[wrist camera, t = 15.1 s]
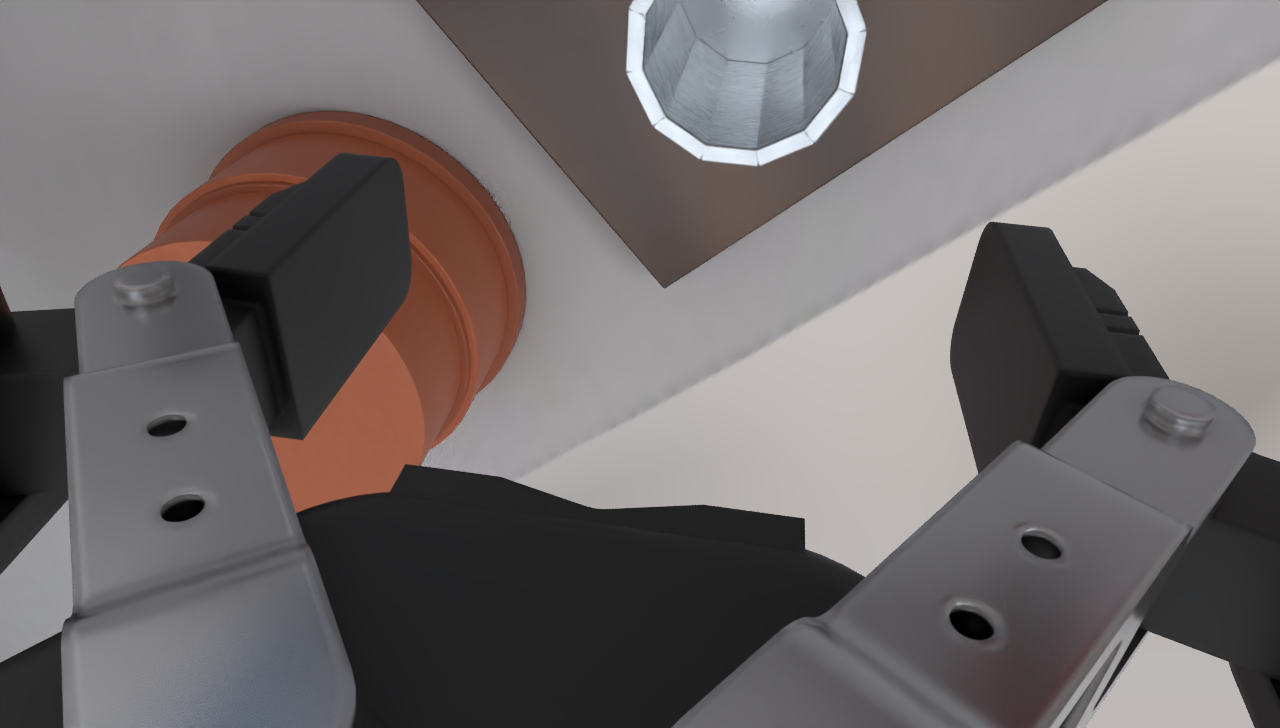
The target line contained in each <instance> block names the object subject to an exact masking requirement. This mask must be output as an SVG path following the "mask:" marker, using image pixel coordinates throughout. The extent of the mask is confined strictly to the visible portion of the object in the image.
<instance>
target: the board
mask: <svg viewBox="0 0 1280 728" xmlns="http://www.w3.org/2000/svg"><path fill="white" fill-rule="evenodd" d="M631 1H632V0H417V2H418V3H419V4H420V5H421V6H422V7H423V9H424V10H425V11H426V12H427V13H428V14H429V16H430V17H431V18H432V19H433V20H434V21H435V23H436V24H437V25H438V26H439V27H440V28H441V30H442V31H443V32H444V33H445V34H446V35H447V37H448V38H449V39H450V40H451V41H452V42H453V44H454V45H455V46H456V47H457V48H458V49H459V51H460V52H461V53H462V54H463V55H464V56H465V58H466V59H467V60H468V61H469V62H470V63H471V65H472V66H473V67H474V68H475V69H476V70H477V71H478V73H479V74H480V75H481V76H482V77H483V78H484V80H485V81H486V82H487V83H488V84H489V85H490V87H491V88H492V89H493V90H494V91H495V92H496V94H497V95H498V96H499V97H500V98H501V99H502V101H503V102H504V103H505V104H506V105H507V106H508V108H509V109H510V110H511V111H512V112H513V113H514V115H515V116H516V117H517V118H518V119H519V120H520V122H521V123H522V124H523V125H524V126H525V127H526V129H527V130H528V131H529V132H530V133H531V134H532V136H533V137H534V138H535V139H536V140H537V141H538V143H539V144H540V145H541V146H542V147H543V148H544V150H545V151H546V152H547V153H548V154H549V155H550V156H551V158H552V159H553V160H554V161H555V162H556V163H557V165H558V166H559V167H560V168H561V169H562V170H563V172H564V173H565V174H566V175H567V176H568V177H569V179H570V180H571V181H572V182H573V183H574V184H575V186H576V187H577V188H578V189H579V190H580V191H581V193H582V194H583V195H584V196H585V197H586V198H587V200H588V201H589V202H590V203H591V204H592V205H593V207H594V208H595V209H596V210H597V211H598V212H599V214H600V215H601V216H602V217H603V218H604V219H605V221H606V222H607V223H608V224H609V225H610V226H611V228H612V229H613V230H614V231H615V232H616V233H617V235H618V236H619V237H620V238H621V239H622V240H623V242H624V243H625V244H626V245H627V246H628V247H629V248H630V250H631V251H632V252H633V253H634V254H635V255H636V257H637V258H638V259H639V260H640V261H641V262H642V264H643V265H644V266H645V267H646V268H647V269H648V271H649V272H650V273H651V274H652V275H653V276H654V278H655V279H656V280H657V281H658V282H659V283H660V285H661V286H662V287H663V288H666V287H668V286H669V285H671V284H673V283H674V282H676V281H677V280H679V279H680V278H682V277H683V276H685V275H686V274H688V273H689V272H691V271H693V270H694V269H696V268H697V267H699V266H700V265H702V264H703V263H705V262H706V261H708V260H709V259H711V258H712V257H714V256H716V255H717V254H719V253H720V252H722V251H723V250H725V249H726V248H728V247H729V246H731V245H732V244H734V243H736V242H737V241H739V240H740V239H742V238H743V237H745V236H746V235H748V234H749V233H751V232H752V231H754V230H756V229H757V228H759V227H760V226H762V225H763V224H765V223H766V222H768V221H769V220H771V219H772V218H774V217H775V216H777V215H779V214H780V213H782V212H783V211H785V210H786V209H788V208H789V207H791V206H792V205H794V204H795V203H797V202H799V201H800V200H802V199H803V198H805V197H806V196H808V195H809V194H811V193H812V192H814V191H815V190H817V189H818V188H820V187H822V186H823V185H825V184H826V183H828V182H829V181H831V180H832V179H834V178H835V177H837V176H838V175H840V174H842V173H843V172H845V171H846V170H848V169H849V168H851V167H852V166H854V165H855V164H857V163H858V162H860V161H862V160H863V159H865V158H866V157H868V156H869V155H871V154H872V153H874V152H875V151H877V150H878V149H880V148H881V147H883V146H885V145H886V144H888V143H889V142H891V141H892V140H894V139H895V138H897V137H898V136H900V135H901V134H903V133H905V132H906V131H908V130H909V129H911V128H912V127H914V126H915V125H917V124H918V123H920V122H921V121H923V120H925V119H926V118H928V117H929V116H931V115H932V114H934V113H935V112H937V111H938V110H940V109H941V108H943V107H944V106H946V105H948V104H949V103H951V102H952V101H954V100H955V99H957V98H958V97H960V96H961V95H963V94H964V93H966V92H968V91H969V90H971V89H972V88H974V87H975V86H977V85H978V84H980V83H981V82H983V81H984V80H986V79H987V78H989V77H991V76H992V75H994V74H995V73H997V72H998V71H1000V70H1001V69H1003V68H1004V67H1006V66H1007V65H1009V64H1011V63H1012V62H1014V61H1015V60H1017V59H1018V58H1020V57H1021V56H1023V55H1024V54H1026V53H1027V52H1029V51H1031V50H1032V49H1034V48H1035V47H1037V46H1038V45H1040V44H1041V43H1043V42H1044V41H1046V40H1047V39H1049V38H1050V37H1052V36H1054V35H1055V34H1057V33H1058V32H1060V31H1061V30H1063V29H1064V28H1066V27H1067V26H1069V25H1070V24H1072V23H1074V22H1075V21H1077V20H1078V19H1080V18H1081V17H1083V16H1084V15H1086V14H1087V13H1089V12H1090V11H1092V10H1093V9H1095V8H1097V7H1098V6H1100V5H1101V4H1103V3H1104V2H1106V1H1107V0H860V1H861V5H862V9H863V13H864V17H865V21H866V25H867V37H866V43H865V48H864V53H863V58H862V64H861V69H860V74H859V79H858V85H857V90H856V93H855V94H854V97H853V99H852V100H851V101H850V102H849V103H848V105H847V106H846V107H845V108H844V109H843V111H842V112H841V113H840V114H839V116H838V117H837V118H836V119H835V120H834V122H833V123H832V124H831V125H830V126H829V128H828V129H827V130H826V131H825V133H824V134H823V135H822V136H821V137H820V139H819V140H818V141H817V142H816V143H814V144H813V145H811V146H809V147H807V148H804V149H802V150H799V151H797V152H794V153H792V154H790V155H787V156H785V157H782V158H780V159H777V160H775V161H773V162H770V163H768V164H765V165H763V166H758V167H753V166H744V165H735V164H725V163H716V162H706V161H701V160H698V159H697V158H695V157H694V156H693V155H691V154H690V153H688V152H687V151H685V150H684V149H683V148H681V147H680V146H678V145H677V144H675V143H674V142H672V141H671V140H670V139H668V138H667V137H665V136H664V135H662V134H661V133H660V132H658V131H657V130H655V129H654V128H653V126H651V124H650V122H649V120H648V118H647V116H646V114H645V112H644V110H643V108H642V106H641V104H640V102H639V100H638V98H637V96H636V94H635V92H634V90H633V88H632V86H631V84H630V82H629V80H628V78H627V76H626V71H625V53H626V30H627V10H628V6H629V4H630V3H631Z"/></svg>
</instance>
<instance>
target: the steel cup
mask: <svg viewBox="0 0 1280 728" xmlns="http://www.w3.org/2000/svg"><path fill="white" fill-rule="evenodd" d="M866 37H867V25H866V21H865V17H864V13H863V9H862V5H861V1H860V0H632V1H631V3H630V4H629V6H628V10H627V30H626V53H625V71H626V76H627V78H628V80H629V82H630V84H631V86H632V88H633V90H634V92H635V94H636V96H637V98H638V100H639V102H640V104H641V106H642V108H643V110H644V112H645V114H646V116H647V118H648V120H649V122H650V124H651V126H653V128H654V129H655V130H657V131H658V132H660V133H661V134H662V135H664V136H665V137H667V138H668V139H670V140H671V141H672V142H674V143H675V144H677V145H678V146H680V147H681V148H683V149H684V150H685V151H687V152H688V153H690V154H691V155H693V156H694V157H695V158H697V159H698V160H701V161H706V162H716V163H725V164H735V165H744V166H753V167H758V166H763V165H765V164H768V163H770V162H773V161H775V160H777V159H780V158H782V157H785V156H787V155H790V154H792V153H794V152H797V151H799V150H802V149H804V148H807V147H809V146H811V145H813V144H814V143H816V142H817V141H818V140H819V139H820V137H821V136H822V135H823V134H824V133H825V131H826V130H827V129H828V128H829V126H830V125H831V124H832V123H833V122H834V120H835V119H836V118H837V117H838V116H839V114H840V113H841V112H842V111H843V109H844V108H845V107H846V106H847V105H848V103H849V102H850V101H851V100H852V99H853V97H854V94H855V93H856V90H857V85H858V79H859V74H860V69H861V64H862V58H863V53H864V48H865V43H866Z"/></svg>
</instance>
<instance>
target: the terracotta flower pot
mask: <svg viewBox="0 0 1280 728" xmlns="http://www.w3.org/2000/svg"><path fill="white" fill-rule="evenodd" d="M342 152H344V153H353V154H363V155H372V156H382V157H391V158H394V159H396V160H397V162H398V163H399V165H400V167H401V170H402V175H403V181H404V191H405V200H406V210H407V219H408V229H409V238H410V248H411V257H412V275H411V282H410V287H409V291H408V294H407V297H406V299H405V301H404V303H403V304H402V305H401V307H400V308H399V310H398V311H397V312H396V314H395V315H394V316H393V318H392V319H391V321H390V322H389V323H388V325H387V326H386V327H385V329H384V330H383V331H382V333H381V334H380V336H379V337H378V338H377V340H376V341H375V342H374V344H373V345H372V347H371V348H370V349H369V351H368V352H367V353H366V355H365V356H364V357H363V359H362V360H361V362H360V363H359V364H358V366H357V367H356V368H355V370H354V371H353V373H352V374H351V375H350V377H349V378H348V379H347V381H346V382H345V384H344V385H343V386H342V388H341V389H340V390H339V392H338V393H337V394H336V396H335V397H334V399H333V400H332V401H331V403H330V404H329V405H328V407H327V408H326V410H325V411H324V412H323V414H322V415H321V416H320V418H319V419H318V420H317V422H316V423H315V425H314V426H313V427H312V429H311V430H310V431H309V433H308V434H307V436H306V437H305V438H304V440H296V439H289V438H281V437H274V436H271V439H272V442H273V445H274V448H275V451H276V454H277V457H278V460H279V463H280V466H281V469H282V472H283V475H284V478H285V481H286V484H287V487H288V491H289V494H290V497H291V500H292V503H293V506H294V509H295V512H296V513H297V512H300V511H302V510H305V509H307V508H310V507H313V506H317V505H320V504H323V503H326V502H330V501H333V500H338V499H343V498H347V497H352V496H357V495H364V494H371V493H379V492H390V491H391V489H392V487H393V485H394V484H395V482H396V480H397V478H398V476H399V475H400V473H401V471H402V469H403V467H404V466H405V464H409V465H416V466H421V464H422V462H423V460H424V459H425V457H426V455H427V453H428V451H429V450H430V449H431V448H433V447H435V446H436V445H438V444H439V443H441V442H442V441H443V440H444V439H445V438H446V437H448V436H449V435H450V434H451V433H452V432H453V431H454V429H455V428H456V427H457V426H458V425H459V423H460V422H461V421H462V419H463V417H464V416H465V414H466V412H467V411H468V409H469V407H470V405H471V403H472V401H473V399H474V397H475V396H476V394H477V393H478V392H479V391H481V390H482V389H483V388H484V387H485V386H486V385H487V384H489V383H490V382H491V381H492V379H493V378H494V377H495V376H496V375H497V373H498V372H499V371H500V370H501V368H502V366H503V365H504V363H505V361H506V360H507V358H508V356H509V354H510V352H511V350H512V348H513V346H514V344H515V342H516V340H517V337H518V335H519V332H520V329H521V327H522V322H523V317H524V312H525V300H526V286H525V276H524V269H523V265H522V261H521V257H520V252H519V250H518V247H517V244H516V242H515V239H514V236H513V234H512V231H511V229H510V228H509V226H508V224H507V222H506V220H505V218H504V216H503V214H502V212H501V211H500V209H499V208H498V207H497V205H496V204H495V202H494V201H493V199H492V198H491V196H490V195H489V194H488V192H487V191H486V190H485V189H484V188H483V187H482V185H481V184H480V183H479V182H478V181H477V180H476V179H475V177H474V176H473V175H472V174H471V173H470V172H469V171H467V170H466V169H465V168H464V167H463V166H462V165H461V164H460V163H459V162H458V161H457V160H455V159H454V158H453V157H452V156H450V155H449V154H447V153H446V152H445V151H443V150H442V149H441V148H439V147H438V146H437V145H435V144H434V143H432V142H430V141H428V140H427V139H425V138H423V137H421V136H420V135H418V134H416V133H414V132H412V131H410V130H408V129H405V128H403V127H401V126H398V125H396V124H394V123H392V122H388V121H385V120H382V119H378V118H375V117H372V116H368V115H362V114H356V113H350V112H339V111H318V112H309V113H301V114H297V115H293V116H289V117H286V118H282V119H280V120H278V121H275V122H273V123H271V124H269V125H266V126H264V127H263V128H261V129H260V130H258V131H257V132H255V133H254V134H252V135H251V136H249V137H248V138H246V139H245V140H243V141H242V142H240V143H239V144H237V145H236V146H235V147H234V148H233V149H232V150H231V151H230V152H229V153H228V154H227V155H225V156H224V157H223V158H222V160H221V161H220V163H219V164H218V165H217V167H216V168H215V170H214V171H213V172H212V174H211V176H210V179H209V180H208V181H207V182H205V183H204V184H203V185H201V186H200V187H198V188H197V189H195V190H194V191H192V192H191V193H189V194H188V195H187V196H185V197H184V198H183V199H182V200H181V201H180V202H179V203H178V204H177V205H176V206H175V207H173V208H172V209H171V211H170V212H169V213H168V215H167V216H166V218H165V219H164V221H163V222H162V224H161V225H160V228H159V230H158V232H157V234H156V237H155V239H154V241H153V242H151V243H150V244H149V245H147V246H146V247H144V248H143V249H142V250H140V251H139V252H138V253H136V254H135V255H133V256H132V257H131V258H129V259H128V260H127V261H125V262H124V263H122V264H121V265H120V266H119V267H118V268H122V267H126V266H129V265H134V264H139V263H146V262H154V261H180V262H189V261H190V260H191V259H192V258H194V257H195V256H196V255H197V254H198V253H200V252H201V251H202V250H203V249H205V248H206V247H207V246H208V245H210V244H211V243H212V242H213V241H214V240H216V239H217V238H218V237H219V236H221V235H222V234H223V233H224V232H225V231H227V230H228V229H231V230H232V229H233V225H234V224H235V223H237V222H238V221H239V220H240V219H241V218H243V217H244V216H245V215H248V216H249V215H250V211H251V210H253V209H254V208H255V207H256V206H257V205H259V204H260V203H261V202H262V201H264V200H265V199H266V198H267V197H268V196H270V195H272V194H274V193H277V192H279V191H282V190H284V189H287V188H289V187H291V186H294V185H296V184H299V183H301V182H305V181H306V180H307V179H309V178H310V177H311V176H312V175H313V174H315V173H316V172H317V171H318V170H319V169H320V168H322V167H323V166H324V165H325V164H326V163H328V162H329V161H330V160H331V159H332V158H333V157H335V156H336V155H337V154H339V153H342ZM118 268H117V269H118Z"/></svg>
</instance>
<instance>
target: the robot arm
mask: <svg viewBox="0 0 1280 728" xmlns="http://www.w3.org/2000/svg"><path fill="white" fill-rule="evenodd" d="M411 275H412V257H411V248H410V238H409V229H408V219H407V210H406V200H405V191H404V181H403V175H402V170H401V167H400V165H399V163H398V162H397V160H396V159H394V158H391V157H382V156H372V155H363V154H353V153H344V152H342V153H339V154H337V155H336V156H335V157H333V158H332V159H331V160H330V161H329V162H328V163H326V164H325V165H324V166H323V167H322V168H320V169H319V170H318V171H317V172H316V173H315V174H313V175H312V176H311V177H310V178H309V179H307V180H306V181H305V182H301V183H299V184H296V185H294V186H291V187H289V188H287V189H284V190H282V191H279V192H277V193H274V194H272V195H270V196H268V197H267V198H266V199H265V200H264V201H262V202H261V203H260V204H259V205H257V206H256V207H255V208H254V209H253V210H251V211H250V215H249V216H248V215H245V216H244V217H243V218H241V219H240V220H239V221H238V222H237V223H235V224H234V225H233V229H232V230H231V229H228V230H227V231H225V232H224V233H223V234H222V235H221V236H219V237H218V238H217V239H216V240H214V241H213V242H212V243H211V244H210V245H208V246H207V247H206V248H205V249H203V250H202V251H201V252H200V253H198V254H197V255H196V256H195V257H194V258H192V259H191V260H190V261H189V262H180V261H154V262H146V263H139V264H134V265H129V266H126V267H122V268H118V269H116V270H113V271H110V272H107V273H105V274H103V275H101V276H99V277H97V278H95V279H93V280H92V281H90V282H89V283H87V284H86V285H85V286H84V287H82V289H81V290H80V291H79V292H78V293H77V295H76V297H75V303H74V305H75V308H72V309H54V310H36V311H18V312H10V309H9V307H8V304H7V302H6V300H5V297H4V295H3V292H2V290H1V287H0V574H1V573H2V572H3V571H4V570H5V569H6V568H7V567H8V566H9V564H10V563H11V562H12V561H13V560H14V559H15V558H16V557H17V556H18V554H19V553H20V552H21V551H22V550H23V549H24V548H25V547H26V546H27V544H28V543H29V542H30V541H31V540H32V539H33V538H34V537H35V535H36V534H37V533H38V532H39V531H40V530H41V529H42V528H43V527H44V525H45V524H46V523H47V522H48V521H49V520H50V519H51V518H52V517H53V515H54V514H55V513H56V512H57V511H58V510H59V509H60V508H61V507H62V505H63V504H64V503H65V502H66V501H67V500H68V499H69V520H70V541H71V563H72V585H73V612H72V615H71V617H70V618H68V619H66V620H65V622H64V624H63V628H62V631H61V632H59V633H57V634H55V635H53V636H52V637H50V638H48V639H46V640H44V641H42V642H40V643H38V644H36V645H34V646H32V647H30V648H28V649H26V650H24V651H22V652H20V653H18V654H16V655H14V656H12V657H11V658H9V659H7V660H5V661H3V662H1V663H0V728H1086V726H1087V725H1088V724H1089V722H1090V721H1091V719H1092V718H1093V716H1094V715H1095V713H1096V712H1097V710H1098V709H1099V707H1100V706H1101V704H1102V703H1103V701H1104V700H1105V698H1106V697H1107V695H1108V694H1109V692H1110V691H1111V689H1112V688H1113V686H1114V685H1115V683H1116V682H1117V680H1118V679H1119V677H1120V676H1121V674H1122V673H1123V671H1124V669H1125V668H1126V667H1127V665H1128V664H1129V662H1130V661H1131V659H1132V658H1133V656H1134V655H1135V653H1136V652H1137V650H1138V649H1139V647H1140V646H1141V644H1142V643H1143V641H1144V640H1145V638H1146V637H1147V635H1148V633H1149V632H1152V633H1155V634H1157V635H1160V636H1163V637H1165V638H1168V639H1170V640H1173V641H1176V642H1178V643H1181V644H1184V645H1186V646H1189V647H1192V648H1194V649H1197V650H1200V651H1202V652H1205V653H1207V654H1210V655H1213V656H1215V657H1218V658H1221V659H1223V660H1226V661H1228V662H1229V664H1230V668H1231V671H1232V674H1233V676H1234V679H1235V681H1236V683H1237V686H1238V688H1239V691H1240V693H1241V695H1242V698H1243V700H1244V703H1245V705H1246V708H1247V710H1248V712H1249V714H1250V717H1251V720H1252V722H1253V725H1254V727H1255V728H1280V462H1279V461H1276V460H1273V459H1270V458H1267V457H1264V456H1261V455H1258V454H1256V453H1253V452H1252V451H1253V449H1254V447H1255V444H1256V439H1255V434H1254V431H1253V430H1252V428H1251V426H1250V425H1249V423H1248V422H1247V421H1246V420H1245V419H1244V418H1243V417H1242V415H1240V414H1239V413H1238V412H1237V411H1236V410H1235V409H1233V408H1232V407H1230V406H1229V405H1228V404H1226V403H1225V402H1223V401H1222V400H1220V399H1218V398H1216V397H1214V396H1213V395H1211V394H1208V393H1206V392H1204V391H1202V390H1200V389H1197V388H1195V387H1192V386H1189V385H1187V384H1183V383H1180V382H1176V381H1172V380H1170V379H1169V377H1168V376H1167V374H1166V373H1165V371H1164V369H1163V368H1162V366H1161V365H1160V363H1159V361H1158V360H1157V358H1156V356H1155V355H1154V353H1153V352H1152V350H1151V348H1150V347H1149V345H1148V343H1147V342H1146V340H1145V339H1144V337H1143V336H1142V335H1139V331H1140V330H1139V329H1138V327H1137V326H1136V324H1135V322H1134V321H1133V319H1132V318H1131V317H1128V311H1127V309H1126V308H1125V306H1124V305H1123V303H1122V301H1121V300H1120V298H1119V296H1118V295H1117V293H1116V292H1115V290H1114V289H1113V288H1111V287H1110V286H1108V285H1107V284H1106V283H1104V282H1103V281H1102V280H1100V279H1099V278H1098V277H1096V276H1095V275H1094V274H1092V273H1091V272H1090V271H1088V270H1087V269H1084V268H1076V267H1072V265H1071V264H1070V262H1069V260H1068V258H1067V257H1066V255H1065V253H1064V251H1063V249H1062V248H1061V246H1060V244H1059V242H1058V240H1057V239H1056V237H1055V235H1054V233H1053V232H1052V230H1051V229H1049V228H1046V227H1036V226H1025V225H1017V224H1008V223H998V222H990V223H988V224H987V225H986V227H985V229H984V231H983V232H982V235H981V238H980V240H979V243H978V247H977V250H976V253H975V257H974V260H973V263H972V267H971V270H970V274H969V277H968V281H967V284H966V287H965V291H964V294H963V298H962V301H961V304H960V308H959V311H958V314H957V318H956V321H955V325H954V329H953V334H952V340H951V349H950V364H951V371H952V375H953V378H954V382H955V386H956V390H957V394H958V397H959V401H960V405H961V409H962V413H963V416H964V420H965V424H966V428H967V432H968V436H969V439H970V443H971V447H972V451H973V454H974V458H975V462H976V466H977V469H978V475H977V476H976V477H975V478H974V479H973V480H971V481H970V482H969V483H968V484H967V485H966V486H965V487H964V488H963V489H962V490H961V491H960V492H958V493H957V494H956V495H955V496H954V497H953V498H952V499H951V500H950V501H949V502H947V503H946V504H945V505H944V506H943V507H942V508H941V509H940V510H939V511H938V512H936V513H935V514H934V515H933V516H932V517H931V518H930V519H929V520H928V521H927V522H926V523H924V524H923V525H922V526H921V527H920V528H919V529H918V530H917V531H916V532H915V533H913V534H912V535H911V536H910V537H909V538H908V539H907V540H906V541H905V542H904V543H902V544H901V545H900V546H899V547H898V548H897V549H896V550H895V551H894V552H893V553H891V554H890V555H889V556H888V557H887V558H886V559H885V560H884V561H883V562H882V563H881V564H879V565H878V567H876V568H875V569H874V570H873V571H872V572H871V573H870V574H869V575H867V576H866V577H864V576H862V575H860V574H859V573H857V572H855V571H853V570H851V569H850V568H848V567H846V566H844V565H842V564H840V563H838V562H836V561H834V560H831V559H829V558H827V557H825V556H822V555H820V554H817V553H814V552H812V551H809V550H806V549H805V519H803V518H796V517H789V516H781V515H774V514H767V513H760V512H752V511H745V510H738V509H730V508H723V507H715V506H708V505H691V506H690V505H689V506H667V507H648V508H647V507H645V508H623V509H595V508H590V507H587V506H583V505H581V504H578V503H575V502H571V501H568V500H566V499H563V498H560V497H557V496H554V495H551V494H549V493H545V492H543V491H540V490H537V489H534V488H531V487H528V486H525V485H522V484H519V483H516V482H514V481H511V480H508V479H505V478H502V477H497V476H489V475H482V474H475V473H467V472H460V471H453V470H445V469H438V468H431V467H424V466H416V465H409V464H405V466H404V467H403V469H402V471H401V473H400V475H399V476H398V478H397V480H396V482H395V484H394V485H393V487H392V489H391V491H390V492H379V493H371V494H364V495H357V496H352V497H347V498H343V499H338V500H333V501H330V502H326V503H323V504H320V505H317V506H313V507H310V508H307V509H305V510H302V511H300V512H297V513H296V512H295V509H294V506H293V503H292V500H291V497H290V494H289V491H288V487H287V484H286V481H285V478H284V475H283V472H282V469H281V466H280V463H279V460H278V457H277V454H276V451H275V448H274V445H273V442H272V439H271V436H274V437H281V438H289V439H296V440H304V438H305V437H306V436H307V434H308V433H309V431H310V430H311V429H312V427H313V426H314V425H315V423H316V422H317V420H318V419H319V418H320V416H321V415H322V414H323V412H324V411H325V410H326V408H327V407H328V405H329V404H330V403H331V401H332V400H333V399H334V397H335V396H336V394H337V393H338V392H339V390H340V389H341V388H342V386H343V385H344V384H345V382H346V381H347V379H348V378H349V377H350V375H351V374H352V373H353V371H354V370H355V368H356V367H357V366H358V364H359V363H360V362H361V360H362V359H363V357H364V356H365V355H366V353H367V352H368V351H369V349H370V348H371V347H372V345H373V344H374V342H375V341H376V340H377V338H378V337H379V336H380V334H381V333H382V331H383V330H384V329H385V327H386V326H387V325H388V323H389V322H390V321H391V319H392V318H393V316H394V315H395V314H396V312H397V311H398V310H399V308H400V307H401V305H402V304H403V303H404V301H405V299H406V297H407V294H408V291H409V287H410V282H411Z"/></svg>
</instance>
